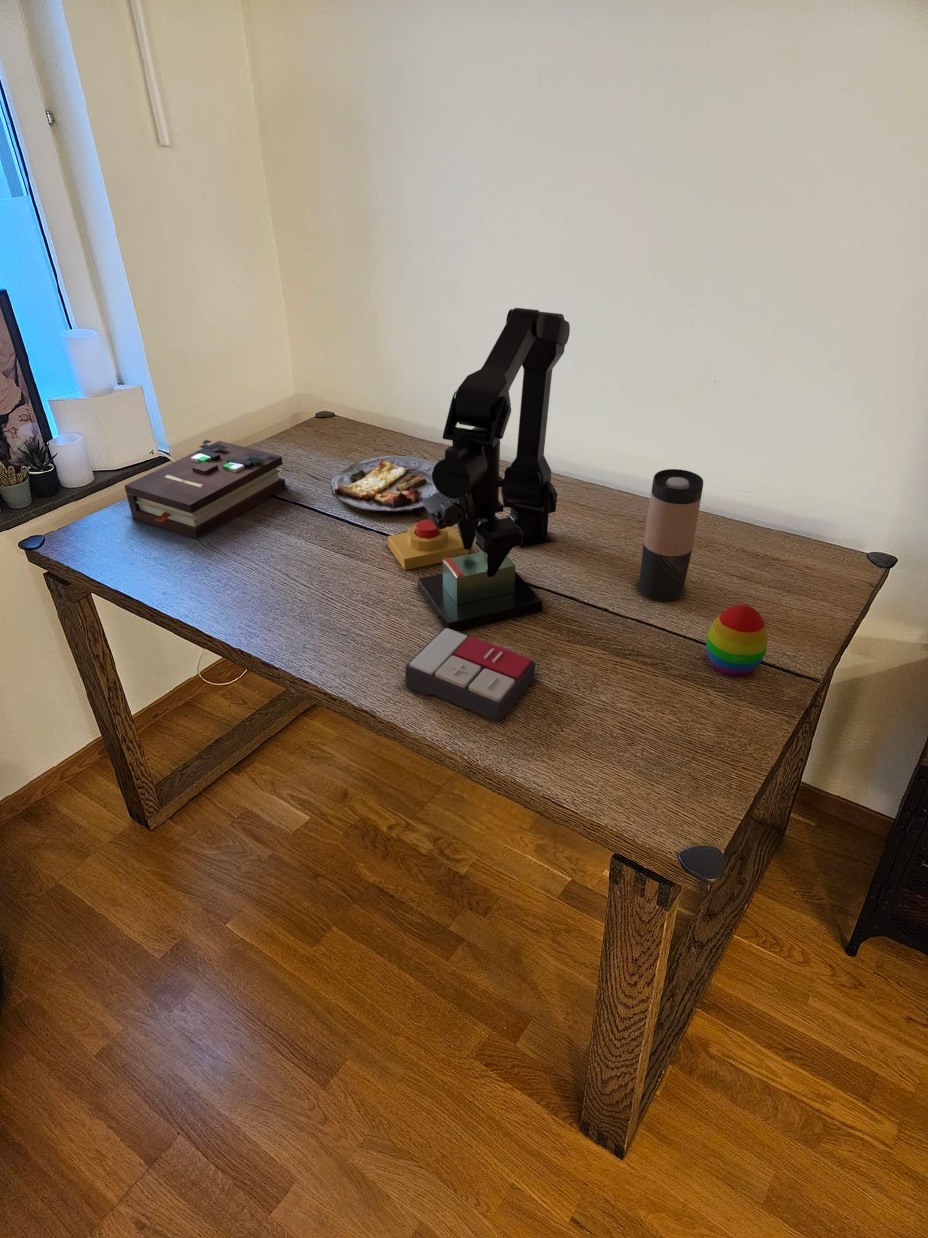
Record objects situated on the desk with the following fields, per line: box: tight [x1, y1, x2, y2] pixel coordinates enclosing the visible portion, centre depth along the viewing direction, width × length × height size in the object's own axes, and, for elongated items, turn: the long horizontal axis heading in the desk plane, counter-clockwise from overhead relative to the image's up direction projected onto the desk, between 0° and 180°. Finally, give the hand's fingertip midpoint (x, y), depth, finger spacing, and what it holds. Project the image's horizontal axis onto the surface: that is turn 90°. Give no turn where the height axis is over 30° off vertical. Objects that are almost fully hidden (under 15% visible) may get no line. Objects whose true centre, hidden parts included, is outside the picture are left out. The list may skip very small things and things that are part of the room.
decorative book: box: [123, 439, 287, 539], centre depth 159 cm, size 19×8×30 cm
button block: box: [387, 524, 470, 571], centre depth 144 cm, size 12×9×4 cm
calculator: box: [404, 627, 536, 722], centre depth 113 cm, size 11×4×15 cm
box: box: [442, 551, 516, 605], centre depth 129 cm, size 10×6×5 cm, turn 113°
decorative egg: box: [705, 603, 768, 677], centre depth 114 cm, size 8×8×10 cm
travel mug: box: [638, 468, 704, 603], centre depth 128 cm, size 8×8×20 cm
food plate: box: [330, 455, 439, 514], centre depth 164 cm, size 25×23×4 cm
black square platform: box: [416, 570, 543, 632], centre depth 131 cm, size 16×14×2 cm
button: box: [415, 519, 439, 538], centre depth 142 cm, size 4×4×2 cm
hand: (479, 562), depth 128 cm, fingers open, 9 cm apart
